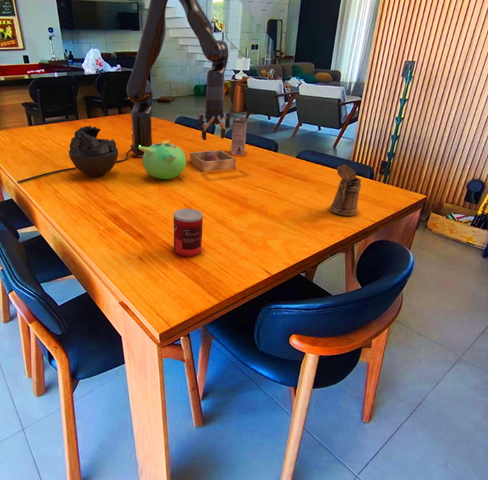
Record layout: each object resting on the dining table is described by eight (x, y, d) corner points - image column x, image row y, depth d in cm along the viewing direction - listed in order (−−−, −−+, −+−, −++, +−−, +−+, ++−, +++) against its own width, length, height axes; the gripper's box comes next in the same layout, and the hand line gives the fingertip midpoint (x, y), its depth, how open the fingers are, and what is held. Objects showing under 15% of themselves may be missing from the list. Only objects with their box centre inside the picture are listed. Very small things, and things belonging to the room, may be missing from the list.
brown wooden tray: (202, 173, 167) (203, 162, 164) (189, 162, 180) (189, 152, 177) (235, 169, 172) (236, 159, 169) (220, 160, 184) (220, 150, 182)
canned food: (184, 242, 112) (184, 206, 106) (207, 249, 109) (208, 212, 102) (168, 252, 107) (167, 214, 101) (191, 260, 103) (192, 222, 97)
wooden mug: (319, 215, 129) (331, 160, 119) (336, 204, 138) (348, 152, 127) (345, 222, 125) (359, 166, 114) (360, 210, 133) (375, 157, 123)
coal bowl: (102, 165, 175) (97, 120, 165) (129, 175, 164) (125, 127, 153) (63, 174, 164) (55, 127, 153) (89, 185, 152) (82, 135, 141)
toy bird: (191, 174, 165) (191, 138, 156) (177, 187, 152) (177, 148, 143) (152, 170, 169) (151, 135, 161) (136, 182, 156) (133, 144, 148)
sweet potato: (221, 167, 172) (222, 157, 169) (212, 168, 170) (212, 158, 168) (211, 161, 180) (212, 151, 178) (202, 162, 179) (203, 151, 176)
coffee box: (232, 151, 198) (234, 117, 189) (244, 151, 197) (247, 117, 188) (230, 155, 191) (232, 120, 182) (243, 156, 190) (246, 121, 181)
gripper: (226, 96, 165) (224, 136, 174) (195, 97, 161) (195, 138, 170) (234, 98, 159) (231, 139, 168) (202, 100, 155) (201, 142, 164)
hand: (213, 139), depth 169 cm, fingers open, 8 cm apart
